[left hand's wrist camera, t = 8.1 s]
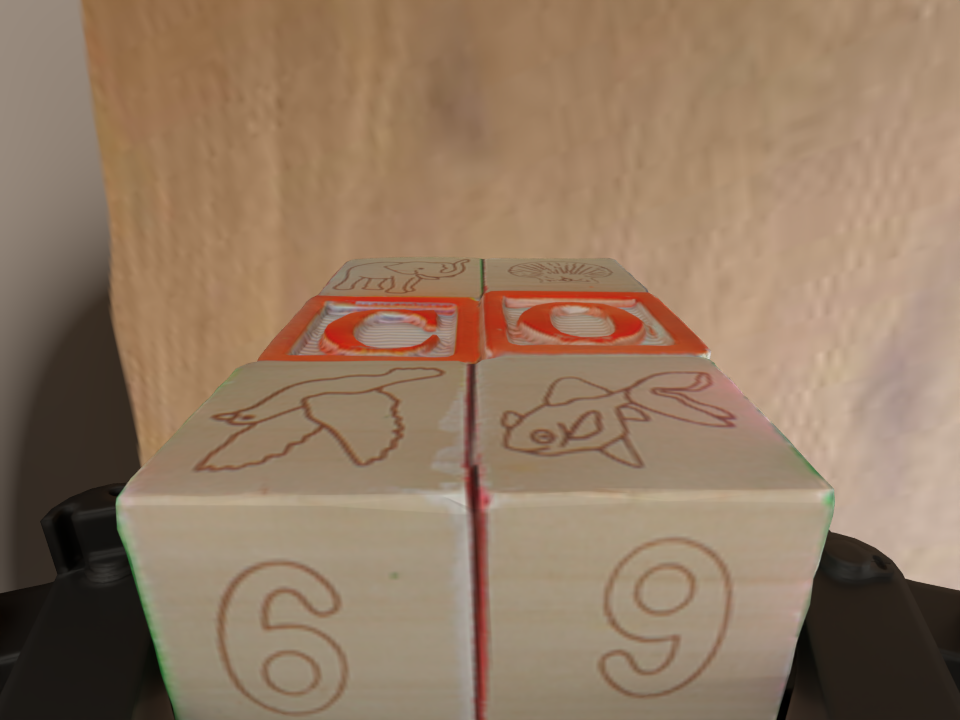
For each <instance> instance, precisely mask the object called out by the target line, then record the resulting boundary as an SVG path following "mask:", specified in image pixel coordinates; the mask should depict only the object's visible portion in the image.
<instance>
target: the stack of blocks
mask: <svg viewBox="0 0 960 720" xmlns="http://www.w3.org/2000/svg"><path fill="white" fill-rule="evenodd" d="M710 355H711V351H710V349H709V348H708V347H707V346H706V345H705V343H704V342H703V341H702V340H701V339H700V338H699V337H698V336H697V335H695V334H694V333H693V332H692V331H691V330H690V329H689V328H688V327H687V326H686V325H685V324H684V323H683V322H682V321H681V320H680V319H679V318H678V317H677V316H676V315H675V314H674V313H673V312H672V311H671V310H670V309H669V308H667V307H666V306H665V305H664V304H663V303H662V302H661V301H660V300H659V299H658V298H657V297H656V296H654V295H652V294H650V293H648V290H647V289H646V288H645V287H644V286H643V285H642V284H641V283H639V282H638V281H637V280H636V279H635V278H634V277H633V276H632V275H631V274H630V273H629V272H627V271H626V270H625V269H624V268H623V267H622V266H621V265H620V264H619V263H618V262H617V261H616V260H613V259H610V258H604V259H497V258H493V259H478V258H455V257H400V258H371V259H355V260H351V261H348V262H346V263H345V264H344V265H343V266H342V267H341V268H340V269H339V270H338V271H337V272H336V273H335V275H334V276H333V277H332V278H331V279H330V281H329V282H328V283H327V285H326V286H325V287H324V288H323V289H322V291H321V292H320V293H319V295H317V296H315V297H313V298H311V299H309V300H308V301H307V302H306V303H305V305H304V306H303V308H302V309H301V310H300V311H299V312H298V313H297V314H296V315H295V316H294V317H293V318H292V320H291V321H290V322H289V323H288V324H287V325H286V326H285V327H284V328H283V329H282V330H281V332H280V333H279V334H278V335H277V336H276V337H275V338H274V339H273V340H272V342H271V343H270V344H269V345H268V347H267V348H266V349H265V350H264V352H263V353H262V354H261V355H260V357H259V359H258V361H257V362H253V363H248V364H245V365H243V366H241V367H239V368H236V369H235V371H234V372H233V373H232V374H231V375H230V377H229V378H228V379H227V380H226V381H225V382H224V383H223V384H222V385H220V386H219V387H218V388H217V390H216V391H215V392H214V393H213V394H212V396H211V397H210V398H209V399H208V400H206V401H205V402H204V403H203V404H202V405H201V406H200V407H199V409H197V410H196V411H195V412H194V413H193V414H192V415H191V416H190V417H189V418H188V420H187V421H186V422H185V423H184V424H183V425H182V426H181V427H180V428H179V430H178V431H177V432H176V433H175V434H174V435H173V436H172V437H171V438H170V439H169V440H168V441H167V442H166V443H165V444H164V445H163V446H162V447H161V448H160V450H159V451H158V452H157V453H156V454H155V455H154V456H153V457H152V458H151V459H150V460H149V461H148V462H147V463H146V464H145V465H144V466H143V467H142V468H141V469H140V470H139V471H138V472H137V473H136V474H135V475H134V476H133V477H132V478H131V479H130V481H129V482H128V483H127V485H126V486H125V487H124V489H123V490H122V491H121V493H120V494H119V495H118V497H117V498H116V518H117V530H118V533H119V535H120V538H121V541H122V543H123V546H124V548H125V551H126V554H127V557H128V560H129V564H130V567H131V571H132V574H133V577H134V581H135V584H136V588H137V591H138V594H139V598H140V601H141V605H142V608H143V611H144V614H145V618H146V621H147V624H148V627H149V631H150V634H151V637H152V640H153V644H154V647H155V651H156V655H157V659H158V663H159V667H160V671H161V675H162V678H163V681H164V684H165V687H166V690H167V693H168V696H169V699H170V701H171V703H172V706H173V711H174V715H175V720H776V719H777V715H778V712H779V709H780V705H781V702H782V699H783V695H784V692H785V688H786V685H787V681H788V678H789V674H790V670H791V666H792V662H793V657H794V653H795V648H796V643H797V640H798V637H799V634H800V631H801V628H802V625H803V622H804V619H805V617H806V614H807V611H808V609H809V606H810V601H811V593H812V585H813V578H814V576H815V573H816V571H817V568H818V566H819V562H820V559H821V555H822V552H823V548H824V544H825V541H826V537H827V534H828V530H829V527H830V524H831V520H832V517H833V512H834V504H835V497H834V489H833V488H832V487H831V485H830V484H829V483H828V482H827V481H826V480H825V479H824V478H823V477H822V476H821V475H820V474H819V473H818V472H817V471H816V470H815V469H814V468H813V467H812V466H811V464H810V463H809V462H808V461H807V460H806V459H805V458H804V457H803V456H802V455H801V453H800V452H799V451H798V450H797V449H796V448H795V447H794V446H793V444H792V443H791V442H790V441H789V440H788V439H787V438H786V437H785V436H784V435H783V434H782V433H781V432H780V431H779V430H778V429H777V428H776V427H775V426H774V424H773V423H772V422H771V421H770V420H769V419H768V418H767V417H766V416H765V415H764V414H763V413H762V412H761V411H760V410H759V409H758V408H757V407H756V406H755V405H754V404H753V403H752V402H751V401H750V400H749V399H748V398H747V397H746V396H745V395H744V394H743V393H742V392H741V390H740V389H739V388H738V387H737V386H736V385H735V383H734V382H733V381H732V380H731V379H730V378H729V377H728V376H726V375H725V374H724V373H723V372H722V371H721V370H719V369H718V368H717V367H716V365H715V363H713V362H712V361H711V360H710Z"/></svg>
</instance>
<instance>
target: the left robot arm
mask: <svg viewBox="0 0 960 720" xmlns="http://www.w3.org/2000/svg"><path fill="white" fill-rule="evenodd" d="M126 485H127V483H116V484H110V485H105V486H101V487H97V488H93V489H90V490H87V491H85V492H82V493H80V494H77V495H75V496H72V497H70V498H68V499H67V500H65V501H64V502H62V503H60V504H59V505H57V506H56V507H54V508H52V509H51V510H50V511H49V512H48V514H47V515H46V516H45V517H44V518H43V519H42V520H41V521H40V522H41V525H42V528H43V531H44V534H45V537H46V540H47V543H48V546H49V549H50V553H51V556H52V559H53V562H54V565H55V568H56V571H57V574H58V575H57V577H56V579H55V581H54V582H51V583H47V584H43V585H39V586H33V587H29V588H24V589H19V590H14V591H9V592H5V593H0V720H175V715H174V711H173V706H172V703H171V701H170V699H169V696H168V693H167V690H166V687H165V684H164V681H163V678H162V675H161V671H160V667H159V663H158V659H157V655H156V651H155V647H154V644H153V640H152V637H151V634H150V631H149V627H148V624H147V621H146V618H145V614H144V611H143V608H142V605H141V601H140V598H139V594H138V591H137V588H136V584H135V581H134V577H133V574H132V571H131V567H130V564H129V560H128V557H127V554H126V551H125V548H124V546H123V543H122V541H121V538H120V535H119V533H118V530H117V518H116V498H117V497H118V495H119V494H120V493H121V491H122V490H123V489H124V487H125V486H126ZM776 720H960V591H959V590H954V589H949V588H945V587H940V586H935V585H930V584H925V583H921V582H916V581H912V580H908V579H905V578H904V576H903V574H902V572H901V571H900V570H899V568H898V567H897V566H896V565H895V563H894V562H893V561H892V560H891V559H890V558H888V557H887V556H886V555H884V554H883V553H882V552H880V551H879V550H877V549H876V548H874V547H872V546H870V545H868V544H866V543H864V542H862V541H860V540H857V539H855V538H852V537H848V536H844V535H841V534H837V533H832V532H831V531H830V530H828V534H827V537H826V541H825V544H824V548H823V552H822V555H821V559H820V562H819V566H818V568H817V571H816V573H815V576H814V578H813V585H812V593H811V601H810V606H809V609H808V611H807V614H806V617H805V619H804V622H803V625H802V628H801V631H800V634H799V637H798V640H797V643H796V648H795V653H794V657H793V662H792V666H791V670H790V674H789V678H788V681H787V685H786V688H785V692H784V695H783V699H782V702H781V705H780V709H779V712H778V715H777V719H776Z"/></svg>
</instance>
